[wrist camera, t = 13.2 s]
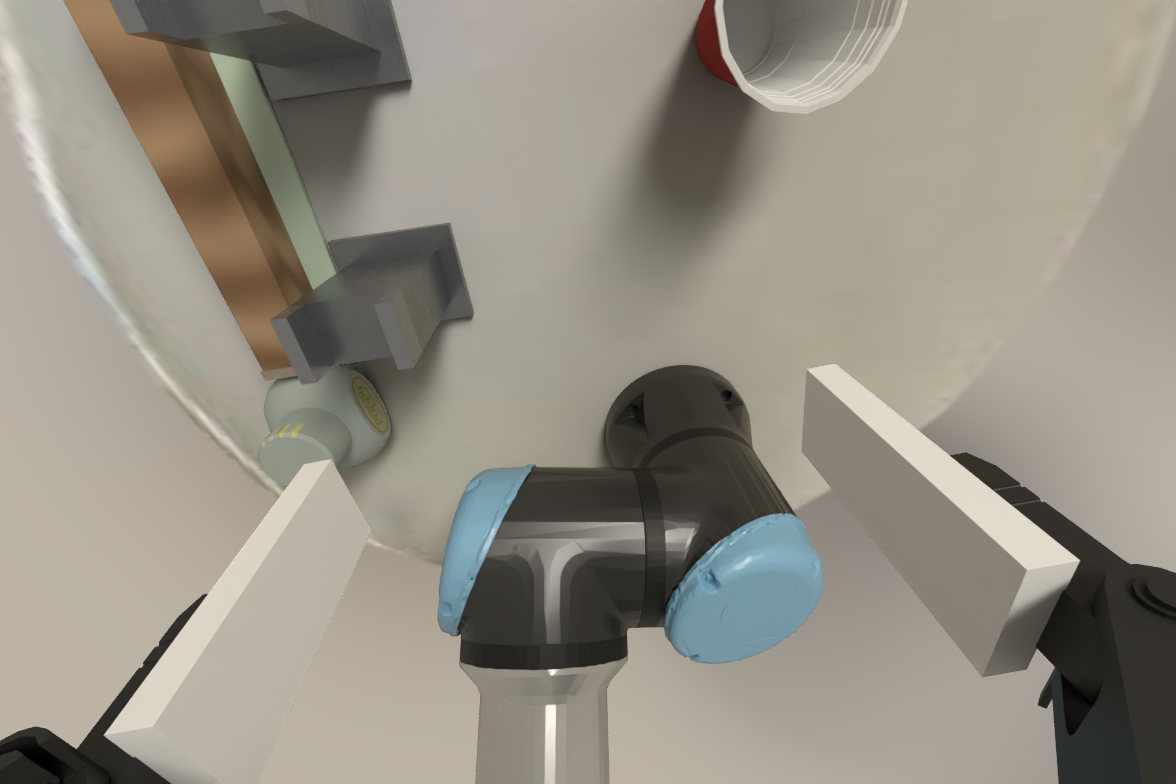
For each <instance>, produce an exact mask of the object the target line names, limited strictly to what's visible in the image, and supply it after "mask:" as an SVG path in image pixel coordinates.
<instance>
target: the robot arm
mask: <svg viewBox="0 0 1176 784" xmlns="http://www.w3.org/2000/svg"><path fill="white" fill-rule="evenodd" d="M605 436H606V443H607V448H608V453H609V456H610V459H611V461H612V463H613V465H614V467H615V468H567V467H536V465H533V464H529V465H528V466H526V467H517V468H496V469H488V470H485V471H482V472H481V473H479V474H477V475H476V476H475V477H474V478H473V479H472V480H471V481H470V483H469V484H468V485H467V487H466V489H465V491H464V493H463V495H462V497H461V500H460V502H459V505H458V507H457V510H456V513H455V516H454V519H453V523H452V526H451V530H450V534H449V538H448V542H447V546H446V551H445V555H444V561H443V566H442V572H441V578H440V586H439V598H440V601H439V608H438V623H439V626H440V628H441V630H442V631H443V632H446V633H449V634H450V635H451V636H458V635H460V634H461V648H460V667H461V668H462V670H463V671H464V672H465V673H466V674H467V675H468V676H469V678H470V679H471V680H472V681H473V682H474V683H475V684H476V685H477V687H478V690H479V692H480V711H479V729H478V746H477V764H476V781H475V784H609V749H608V712H607V688H608V685H609V683H610V681H611V680H612V679H613V677H614V676H615V675H616V674H617V673H618V672H619V670H620V669H621V668H622V667H623V666H624V664H625V663H626V662H627V660H628V650H627V630H628V628H640V627H664V630H665V635H666V637H667V638H668V640H669V641H670V642H671V644H672V645H673V647H674V648H675V649H676V651H677V652H678V653H679V654H681V655H683V656H684V657H689V658H690V659H691V660H693V661H696V662H700V663H708V664H719V663H728V662H733V661H737V660H742V659H745V658H748V657H752V656H754V655H756V654H759V653H761V652H763V651H766V650H768V649H769V648H771V647H773V646H775V645H777V644H778V643H780V642H781V641H782V640H783V639H785V638H787V637H788V636H790V635H791V634H792V633H794V632H795V631H796V630H797V629H798V628H799V627H800V626H801V625H802V624H803V623H804V622H805V621H806V620H807V619H808V617H809V616H810V615H811V614H812V612H813V610H814V609H815V607H816V606H817V604H818V602H819V599H820V597H821V594H822V590H823V584H824V572H823V568H822V563H821V561H820V558H819V556H818V555H817V553H816V551H815V549H814V547H813V545H812V543H811V541H810V539H809V537H808V535H807V531H806V528H805V526H804V524H803V523H802V522H801V521H800V519H798V517H797V516H796V514H795V513H794V511H793V510H792V508H791V507H790V505H789V504H788V502H787V501H786V499H785V498H784V496H783V495H782V493H781V492H780V490H779V489H778V487H777V485H776V484H775V482H774V481H773V479H772V478H771V476H770V475H769V473H768V472H767V470H766V469H765V467H764V466H763V464H762V463H761V461H760V460H759V458H758V457H757V455H756V454H755V452H754V450H753V447H752V437H751V426H750V418H749V414H748V410H747V408H746V405H745V403H744V401H743V400H742V398H741V397H740V395H739V394H738V392H737V391H736V390H735V388H734V387H733V386H732V384H731V383H730V382H729V381H728V380H726V379H725V378H724V377H722V376H721V375H719V374H718V373H716V372H714V371H711V370H709V369H706V368H702V367H698V366H690V365H678V366H670V367H665V368H661V369H658V370H655V371H652V372H650V373H648V374H645V375H644V376H642V377H640V378H638V379H637V380H635V381H634V382H633V383H631V384H630V385H629V386H628V387H627V388H626V389H625V390H623V392H622V393H621V394H620V395H619V396H618V397H617V399H616V400H615V402H614V403H613V405H612V407H611V409H610V411H609V414H608V417H607V421H606V427H605ZM802 452H803V453H804V455H805V456H806V457H807V458H808V460H809V461H810V462H811V463H812V465H813V466H814V467H815V468H816V470H817V471H818V472H819V473H820V475H821V476H822V477H823V478H824V480H825V481H826V482H827V483H828V485H829V486H830V487H831V488H832V490H833V491H834V492H835V493H836V494H837V496H838V497H839V498H840V500H841V501H842V502H843V503H844V505H845V506H846V507H847V508H848V510H849V511H850V512H851V513H852V514H853V516H854V517H855V518H856V520H857V521H858V522H859V523H860V525H861V526H862V527H863V528H864V530H865V531H866V532H867V533H868V535H869V536H870V537H871V538H872V540H873V541H874V542H875V543H876V545H877V546H878V547H879V548H880V550H881V551H882V552H883V553H884V555H885V556H886V557H887V558H888V560H889V561H890V562H891V563H892V565H893V566H894V567H895V568H896V569H897V571H898V572H899V573H900V575H901V576H902V577H903V578H904V580H905V581H906V582H907V583H908V585H909V586H910V587H911V588H912V590H913V591H914V592H915V593H916V594H917V596H918V597H919V598H920V600H921V601H922V602H923V603H924V605H925V606H926V607H927V608H928V610H929V611H930V612H931V613H932V615H933V616H934V617H935V619H936V620H937V621H938V622H939V623H940V625H941V626H942V627H943V628H944V630H945V631H946V632H947V633H948V635H949V636H950V637H951V638H952V640H953V641H954V642H955V643H956V645H957V646H958V647H959V649H960V650H961V651H962V652H963V654H964V655H965V656H966V657H967V659H968V660H969V661H970V662H971V664H972V665H973V666H974V667H975V669H976V670H977V671H978V672H979V674H980V675H981V676H982V677H986V676H992V675H998V674H1003V673H1009V672H1015V671H1020V670H1026V669H1027V668H1028V665H1029V663H1030V661H1031V659H1032V657H1033V655H1034V653H1035V651H1036V649H1037V648H1038V650H1039V651H1040V652H1041V653H1042V654H1043V655H1044V656H1045V657H1046V658H1047V659H1048V660H1049V661H1050V662H1051V663H1052V664H1053V665H1054V666H1055V668H1054V670H1053V672H1052V674H1051V676H1050V678H1049V680H1048V682H1047V683H1046V685H1045V687H1044V689H1043V691H1042V692H1041V694H1040V698H1039V702H1038V705H1039V706H1041V707H1044V708H1047V707H1048V705H1049V703H1050V701H1051V699H1052V700H1053V711H1054V727H1055V739H1056V752H1057V766H1058V779H1059V784H1176V573H1174V572H1171V571H1168V570H1165V569H1162V568H1158V567H1152V566H1145V565H1140V564H1129V563H1127V562H1126V561H1124V560H1122V559H1121V558H1120V557H1118V556H1117V555H1116V554H1115V553H1113V552H1112V551H1111V550H1109V549H1108V548H1107V547H1105V546H1104V545H1102V544H1101V543H1100V542H1098V541H1097V540H1096V539H1094V538H1093V537H1092V536H1090V535H1089V534H1088V533H1086V532H1085V531H1084V530H1082V529H1081V528H1080V527H1078V526H1077V525H1075V524H1074V523H1073V522H1071V521H1070V520H1069V519H1067V518H1066V517H1065V516H1063V515H1062V514H1061V513H1059V512H1058V511H1057V510H1055V509H1054V508H1052V507H1051V506H1050V505H1048V504H1047V503H1046V502H1041V501H1040V498H1039V497H1038V496H1036V495H1035V494H1034V493H1032V492H1031V491H1030V490H1028V489H1027V488H1025V487H1021V486H1020V483H1019V482H1017V481H1016V480H1015V479H1013V478H1012V477H1011V476H1009V475H1008V474H1007V473H1005V472H1004V471H1003V470H1001V469H1000V468H998V467H997V466H996V465H993V464H991V463H989V462H986V461H984V460H982V459H980V458H977V457H975V456H973V455H971V454H968V453H961V454H956V455H950V456H949V455H948V454H947V453H945V452H944V451H943V450H942V449H940V448H939V447H938V446H937V445H935V444H934V443H933V442H932V441H931V440H929V439H928V438H927V437H926V436H924V435H923V434H922V433H921V432H919V431H918V430H917V429H916V428H914V427H913V426H912V425H911V424H909V423H908V422H907V421H906V420H904V419H903V418H902V417H901V416H899V415H898V414H897V413H896V412H894V411H893V410H892V409H891V408H889V407H888V406H887V405H886V404H884V403H883V402H882V401H881V400H879V399H878V398H877V397H876V396H874V395H873V394H872V393H871V392H870V391H868V390H867V389H866V388H865V387H863V386H862V385H861V384H860V383H858V382H857V381H856V380H855V379H853V378H852V377H851V376H850V375H848V374H847V373H846V372H845V371H843V370H842V369H841V368H840V367H838V366H837V365H836V364H832V365H826V366H821V367H816V368H811V369H807V373H806V389H805V405H804V422H803V438H802ZM370 532H371V530H370V528H369V526H368V524H367V523H366V521H365V519H364V517H363V515H362V514H361V512H360V510H359V508H358V506H357V505H356V503H355V501H354V499H353V497H352V496H351V494H350V492H349V490H348V488H347V487H346V485H345V483H344V481H343V479H342V478H341V476H340V474H339V472H338V470H337V469H336V467H335V465H334V463H333V461H332V460H331V459H329V460H324V461H319V462H313V463H308V464H304V465H303V466H302V468H301V469H300V470H299V472H298V473H297V474H296V476H295V477H294V478H293V480H292V481H291V483H290V484H289V485H288V487H287V488H286V489H285V491H284V492H283V493H282V495H281V496H280V497H279V499H278V500H277V501H276V503H275V504H274V506H273V507H272V508H271V510H270V511H269V512H268V514H267V515H266V516H265V518H264V519H263V520H262V522H261V523H260V524H259V526H258V527H257V529H256V530H255V531H254V533H253V534H252V535H251V537H250V538H249V539H248V541H247V542H246V544H245V545H244V546H243V548H242V549H241V550H240V552H239V553H238V554H237V556H236V557H235V558H234V560H233V561H232V562H231V564H230V565H229V566H228V568H227V569H226V571H225V572H224V573H223V575H222V576H221V577H220V579H219V580H218V581H217V583H216V584H215V585H214V587H213V588H212V589H211V591H210V592H209V594H204V595H202V596H201V597H200V598H199V599H198V600H196V602H194V603H193V604H192V605H191V606H190V607H189V608H188V609H187V610H185V611H184V612H183V613H182V614H181V615H180V616H179V617H178V618H177V619H176V620H175V622H174V623H173V624H172V626H171V627H170V628H169V629H168V631H167V632H166V633H165V635H164V636H163V637H162V639H161V640H160V641H159V646H158V647H155V648H154V649H153V650H152V652H151V653H150V654H149V656H148V657H147V658H146V659H145V661H144V662H143V664H144V665H143V667H142V668H139V669H138V670H137V671H136V673H135V674H134V675H133V676H132V678H131V679H130V680H129V682H128V683H127V684H126V686H125V687H124V688H123V690H122V691H121V692H120V693H119V695H118V696H117V698H116V699H115V700H114V701H113V703H112V704H111V705H110V707H109V708H108V709H107V710H106V712H105V713H104V714H103V716H102V717H101V718H100V720H99V721H98V722H97V723H96V725H95V726H94V727H93V729H92V730H91V732H90V733H89V734H88V735H87V737H86V738H85V739H84V741H83V742H82V743H81V744H80V746H79V747H78V748H77V749H75V748H74V747H72V746H71V745H69V744H68V743H66V742H65V741H64V740H62V739H61V738H59V737H58V736H56V735H55V734H53V733H52V732H51V731H49V730H48V729H45V728H40V727H32V728H28V729H25V730H21V731H18V732H16V733H14V734H12V735H10V736H8V737H6V738H5V739H3V740H1V741H0V784H259V781H260V779H261V777H262V775H263V772H264V770H265V768H266V766H267V763H268V761H269V759H270V756H271V754H272V752H273V750H274V748H275V746H276V743H277V741H278V739H279V736H280V734H281V732H282V730H283V728H284V725H285V723H286V721H287V719H288V716H289V714H290V712H291V710H292V707H293V705H294V703H295V701H296V698H297V696H298V694H299V692H300V689H301V687H302V685H303V683H304V680H305V678H306V676H307V674H308V671H309V669H310V667H311V665H312V662H313V660H314V658H315V656H316V653H317V651H318V649H319V647H320V645H321V642H322V640H323V638H324V635H325V633H326V631H327V629H328V627H329V624H330V622H331V620H332V618H333V615H334V613H335V611H336V609H337V606H338V604H339V602H340V600H341V597H342V595H343V593H344V591H345V588H346V586H347V584H348V582H349V579H350V577H351V575H352V573H353V571H354V568H355V566H356V564H357V562H358V559H359V557H360V555H361V553H362V550H363V548H364V546H365V544H366V541H367V539H368V537H369V535H370Z"/></svg>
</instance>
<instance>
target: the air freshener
mask: <svg viewBox="0 0 1176 784" xmlns="http://www.w3.org/2000/svg"><path fill="white" fill-rule="evenodd" d="M264 413H265V418H266V421H267V424H268V426H269V428H270V430H271V433H270V434H269V435H268V436H267V438H266V439H265V440H264V441H263V442H262V444H261V445H260V447H259V451H258V458H259V462H260V464H261V466H262V468H263V469H264V471H265V472H266V473H267V474H268V475H269V476H270V477H271V478H272V479H274V480H275V481H277V482H278V483H280V484H282V485H284V486H287V487H288V485H289V484H290V483H291V481H292V480H293V478H294V477H295V476H296V474H297V473H298V472H299V470H300V469H301V468H302V466H303V465H304V464H308V463H313V462H319V461H324V460H329V459H331V460H332V461H333V463H334V465H335V467H336V469H337V470H338V469H343V468H350V467H353V466H357V465H360V464H362V463H364V462H366V461H368V460H370V459H371V458H373V457H374V456H376V455H377V454H378V453H379V452H380V451H381V450H382V449H383V447H384V446H385V444H386V442H387V441H388V439H389V436H390V433H391V425H390V420H389V416H388V413H387V411H386V408H385V406H384V404H383V401H382V399H381V398H380V396H379V394H378V393H377V391H376V390H375V388H374V387H373V385H372V384H371V383H370V382H369V381H368V380H367V378H366V377H364V376H363V375H362V374H360V373H359V372H357V371H355V370H352V369H350V368H348V367H344V366H341V365H335V366H332V367H331V368H330V369H329V370H328V371H327V372H326V373H325V375H324V376H323V377H322V378H321V379H320V380H319V381H318V382H317V383H312V384H305V385H301V383H300V381H299V379H298V377H297V376H293V377H286V378H279V379H277V380H276V381H275V382H274V383H273V385H272V386H271V387H270V389H269V391H268V393H267V395H266V398H265V403H264Z"/></svg>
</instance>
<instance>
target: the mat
mask: <svg viewBox="0 0 1176 784" xmlns="http://www.w3.org/2000/svg"><path fill="white" fill-rule="evenodd" d="M209 53H210V56H211V58H212V60H213V62H214V65H215V67H216V69H217V72H218V74H219V76H220V78H221V81H222V83H223V85H224V88H225V90H226V92H227V94H228V97H229V99H230V101H231V104H232V106H233V108H234V110H235V113H236V115H237V117H238V120H239V122H240V124H241V126H242V129H243V131H244V133H245V136H246V138H247V140H248V143H249V145H250V147H251V149H252V152H253V154H254V156H255V159H256V161H257V163H258V165H259V168H260V170H261V172H262V175H263V177H264V179H265V181H266V184H267V186H268V188H269V191H270V193H271V195H272V197H273V200H274V202H275V204H276V207H277V209H278V211H279V213H280V216H281V218H282V220H283V223H284V225H285V227H286V229H287V232H288V234H289V236H290V239H291V241H292V243H293V245H294V248H295V250H296V252H297V255H298V257H299V259H300V261H301V264H302V266H303V268H304V271H305V273H306V275H307V277H308V280H309V282H310V284H311V287H312V289H315V288H316V287H318V286H319V285H320V284H322V283H323V282H325V281H326V280H328V279H329V278H330V277H332V276H333V275H335V274H336V273H338V271H337V269H336V266H335V264H334V261H333V259H332V256H331V254H330V251H329V249H328V246H327V244H326V241H325V239H324V236H323V234H322V231H321V229H320V226H319V224H318V221H317V219H316V216H315V214H314V211H313V209H312V206H311V204H310V201H309V199H308V196H307V194H306V191H305V189H304V186H303V184H302V181H301V179H300V176H299V174H298V171H297V169H296V166H295V164H294V161H293V159H292V156H291V154H290V151H289V149H288V146H287V144H286V141H285V139H284V136H283V134H282V131H281V129H280V126H279V124H278V121H277V119H276V116H275V114H274V111H273V109H272V107H271V104H270V102H269V99H268V97H267V94H266V92H265V89H264V87H263V84H262V82H261V79H260V77H259V74H258V72H257V69H256V67H255V64H254V62H253V61H248V60H243V59H239V58H234V57H229V56H225V55H220V54H215V53H211V52H209Z"/></svg>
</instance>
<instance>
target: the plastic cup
mask: <svg viewBox="0 0 1176 784" xmlns="http://www.w3.org/2000/svg"><path fill="white" fill-rule="evenodd" d="M907 2H908V0H706V1H705V3H704V5H703V9H702V11H701V13H700V15H699V19H698V27H697V34H696V39H697V45H698V50H699V56H700V58H701V59H702V61H703V62H704V64H705V66H706V67H707V69H708V71H710V72H711V73H713V74H714V75H716V76H717V77H719V78H721V79H722V80H725V81H727V82H728V83H730V84H732V85H734V86H737V87H740V89H741V90H742V91H743V92H745V93H746V94H747V95H749V96H750V97H752V98H753V99H755V100H756V101H758V102H759V103H761V104H762V105H764V106H765V107H767V108H768V109H770V110H771V111H777V112H790V113H803V114H807V113H810V112H812V111H815V110H817V109H820V108H822V107H825V106H827V105H830V104H832V103H835V102H837V101H840V100H842V99H843V98H844V97H845V96H846V95H847V94H849V93H850V92H851V91H852V90H853V89H854V88H855V87H856V86H857V85H858V84H860V83H861V82H862V81H863V80H864V79H865V78H866V77H867V76H868V75H869V74H871V73H872V72H873V71H874V70H875V68H876V66H877V65H878V63H879V61H880V60H881V58H882V57H883V55H884V53H885V52H886V50H887V48H888V47H889V45H890V43H891V42H892V40H893V38H894V37H895V35H896V34H897V32H898V30H899V29H900V26H901V22H902V19H903V16H904V12H905V9H906V5H907Z"/></svg>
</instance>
